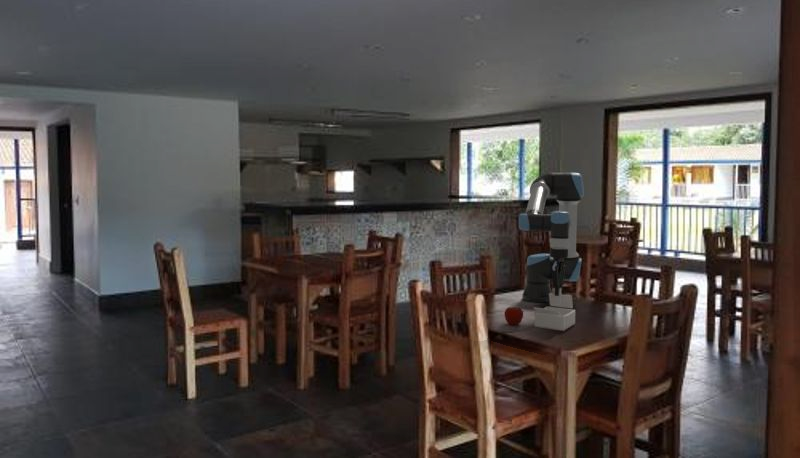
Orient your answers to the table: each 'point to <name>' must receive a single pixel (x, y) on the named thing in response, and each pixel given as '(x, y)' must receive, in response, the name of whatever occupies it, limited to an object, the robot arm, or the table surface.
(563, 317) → the carton
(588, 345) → the table surface
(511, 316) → the apple
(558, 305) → the flap
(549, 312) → the flap
